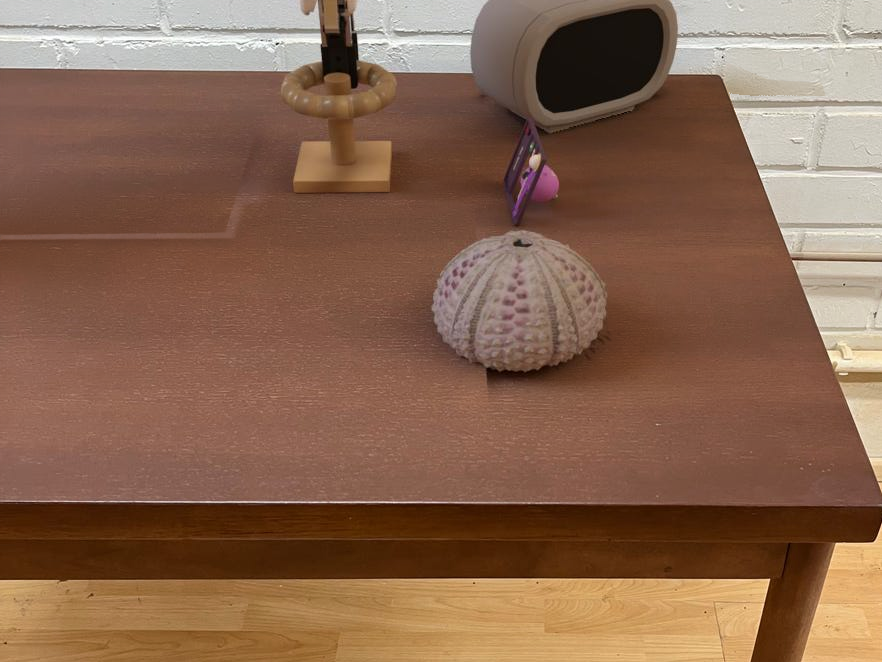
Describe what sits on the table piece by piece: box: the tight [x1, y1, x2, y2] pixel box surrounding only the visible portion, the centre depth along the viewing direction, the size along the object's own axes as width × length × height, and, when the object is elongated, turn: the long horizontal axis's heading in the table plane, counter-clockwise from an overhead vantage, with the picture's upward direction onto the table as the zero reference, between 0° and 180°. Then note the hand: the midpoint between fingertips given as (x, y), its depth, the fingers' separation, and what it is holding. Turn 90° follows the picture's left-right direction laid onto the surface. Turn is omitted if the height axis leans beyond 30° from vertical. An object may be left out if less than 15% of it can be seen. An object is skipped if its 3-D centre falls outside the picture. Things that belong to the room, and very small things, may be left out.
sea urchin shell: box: [430, 229, 609, 373], centre depth 75 cm, size 13×14×8 cm
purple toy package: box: [502, 117, 560, 227], centre depth 92 cm, size 7×5×9 cm
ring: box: [280, 59, 398, 120], centre depth 93 cm, size 11×11×2 cm
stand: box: [292, 73, 393, 194], centre depth 96 cm, size 9×9×9 cm
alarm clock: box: [469, 0, 679, 134], centre depth 106 cm, size 21×10×13 cm, turn 123°
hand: (342, 80), depth 97 cm, fingers closed on ring, 2 cm apart
